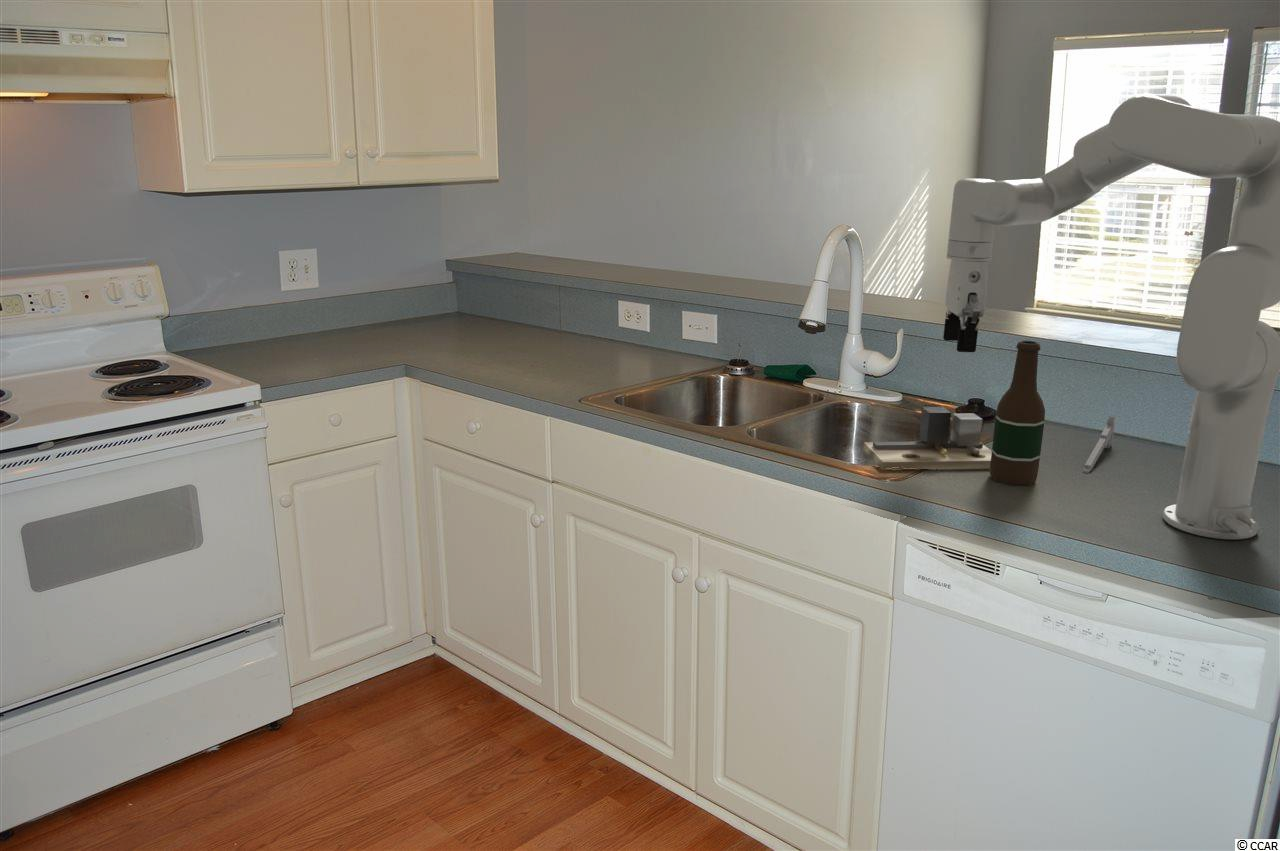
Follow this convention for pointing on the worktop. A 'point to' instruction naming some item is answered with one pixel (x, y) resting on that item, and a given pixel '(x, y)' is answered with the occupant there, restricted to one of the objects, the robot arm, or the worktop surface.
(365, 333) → the worktop surface
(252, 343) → the worktop surface
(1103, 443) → the caliper
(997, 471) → the beer bottle
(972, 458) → the board
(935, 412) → the block
